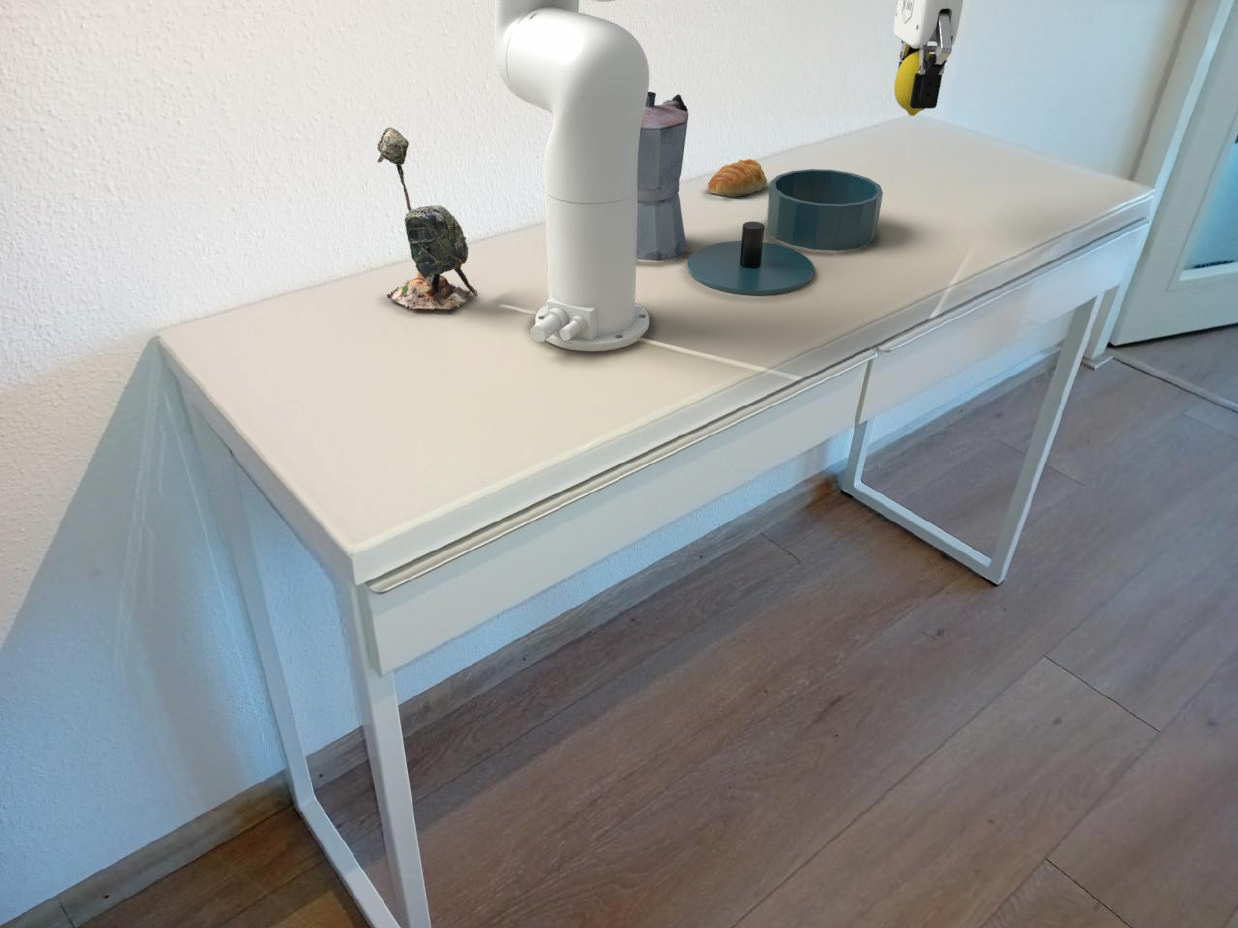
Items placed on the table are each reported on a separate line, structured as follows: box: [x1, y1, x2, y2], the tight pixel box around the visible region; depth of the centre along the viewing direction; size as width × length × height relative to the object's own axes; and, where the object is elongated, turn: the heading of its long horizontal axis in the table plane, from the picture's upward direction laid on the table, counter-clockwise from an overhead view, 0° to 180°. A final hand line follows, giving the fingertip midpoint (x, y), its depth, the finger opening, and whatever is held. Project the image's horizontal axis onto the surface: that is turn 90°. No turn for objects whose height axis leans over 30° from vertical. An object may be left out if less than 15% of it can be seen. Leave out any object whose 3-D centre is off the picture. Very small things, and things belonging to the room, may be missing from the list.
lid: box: [686, 221, 815, 296], centre depth 119 cm, size 15×15×6 cm
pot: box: [765, 168, 884, 251], centre depth 130 cm, size 14×14×6 cm
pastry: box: [707, 158, 768, 199], centre depth 145 cm, size 9×7×4 cm
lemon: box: [893, 50, 942, 117], centre depth 122 cm, size 6×6×8 cm
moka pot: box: [636, 91, 689, 262], centre depth 121 cm, size 10×15×20 cm, turn 152°
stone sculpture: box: [376, 126, 479, 311], centre depth 108 cm, size 8×11×20 cm
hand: (914, 99), depth 123 cm, fingers closed on lemon, 5 cm apart
